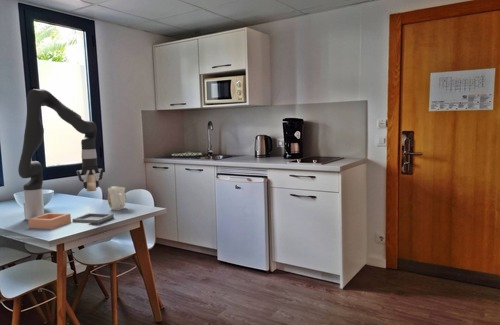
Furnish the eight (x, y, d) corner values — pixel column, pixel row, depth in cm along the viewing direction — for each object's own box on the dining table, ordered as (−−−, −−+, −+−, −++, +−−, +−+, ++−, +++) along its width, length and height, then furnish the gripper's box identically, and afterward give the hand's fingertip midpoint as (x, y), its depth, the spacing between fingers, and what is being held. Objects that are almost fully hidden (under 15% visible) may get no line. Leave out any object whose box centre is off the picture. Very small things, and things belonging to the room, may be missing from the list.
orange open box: (29, 229, 194) (28, 219, 193) (49, 222, 208) (48, 212, 207) (51, 230, 191) (51, 220, 190) (71, 223, 204) (70, 213, 204)
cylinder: (84, 191, 205) (83, 175, 204) (90, 189, 210) (89, 173, 209) (92, 191, 204) (91, 175, 203) (98, 189, 209) (97, 173, 208)
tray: (72, 223, 204) (72, 219, 204) (89, 217, 217) (89, 213, 217) (98, 224, 200) (98, 220, 200) (113, 218, 214) (113, 213, 213)
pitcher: (113, 213, 226) (111, 190, 225) (105, 208, 241) (103, 187, 239) (131, 210, 232) (130, 188, 231) (122, 205, 247) (121, 185, 246)
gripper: (75, 158, 198) (78, 190, 200) (104, 157, 206) (106, 187, 207) (74, 158, 205) (76, 188, 206) (101, 156, 212) (103, 186, 214)
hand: (91, 188), depth 207 cm, fingers closed on cylinder, 5 cm apart
